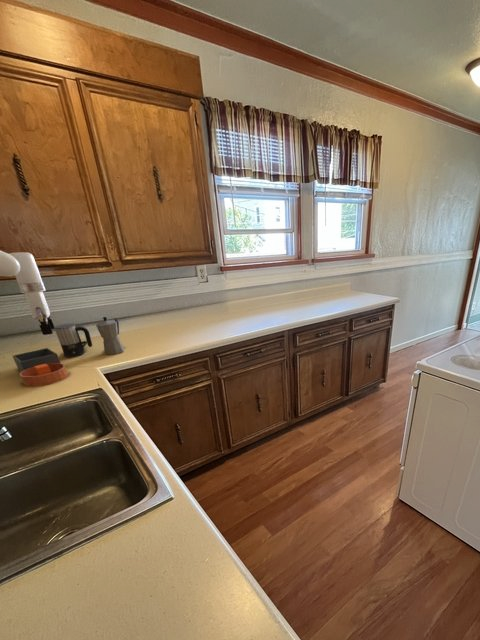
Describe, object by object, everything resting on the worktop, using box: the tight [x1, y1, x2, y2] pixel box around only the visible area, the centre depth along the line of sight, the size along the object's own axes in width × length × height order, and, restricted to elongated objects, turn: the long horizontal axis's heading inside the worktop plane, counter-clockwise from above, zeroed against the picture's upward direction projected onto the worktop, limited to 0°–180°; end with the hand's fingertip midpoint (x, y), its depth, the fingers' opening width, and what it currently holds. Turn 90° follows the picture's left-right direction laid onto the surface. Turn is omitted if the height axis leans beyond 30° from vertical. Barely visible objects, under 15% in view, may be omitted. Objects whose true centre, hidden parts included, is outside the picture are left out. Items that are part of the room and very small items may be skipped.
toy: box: [34, 364, 51, 376], centre depth 134 cm, size 4×4×6 cm
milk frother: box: [53, 323, 93, 358], centre depth 166 cm, size 14×16×15 cm
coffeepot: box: [95, 316, 125, 356], centre depth 165 cm, size 15×9×18 cm, turn 174°
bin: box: [12, 347, 61, 373], centre depth 145 cm, size 13×13×8 cm
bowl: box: [19, 362, 69, 387], centre depth 135 cm, size 15×15×5 cm
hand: (49, 331), depth 132 cm, fingers open, 9 cm apart
